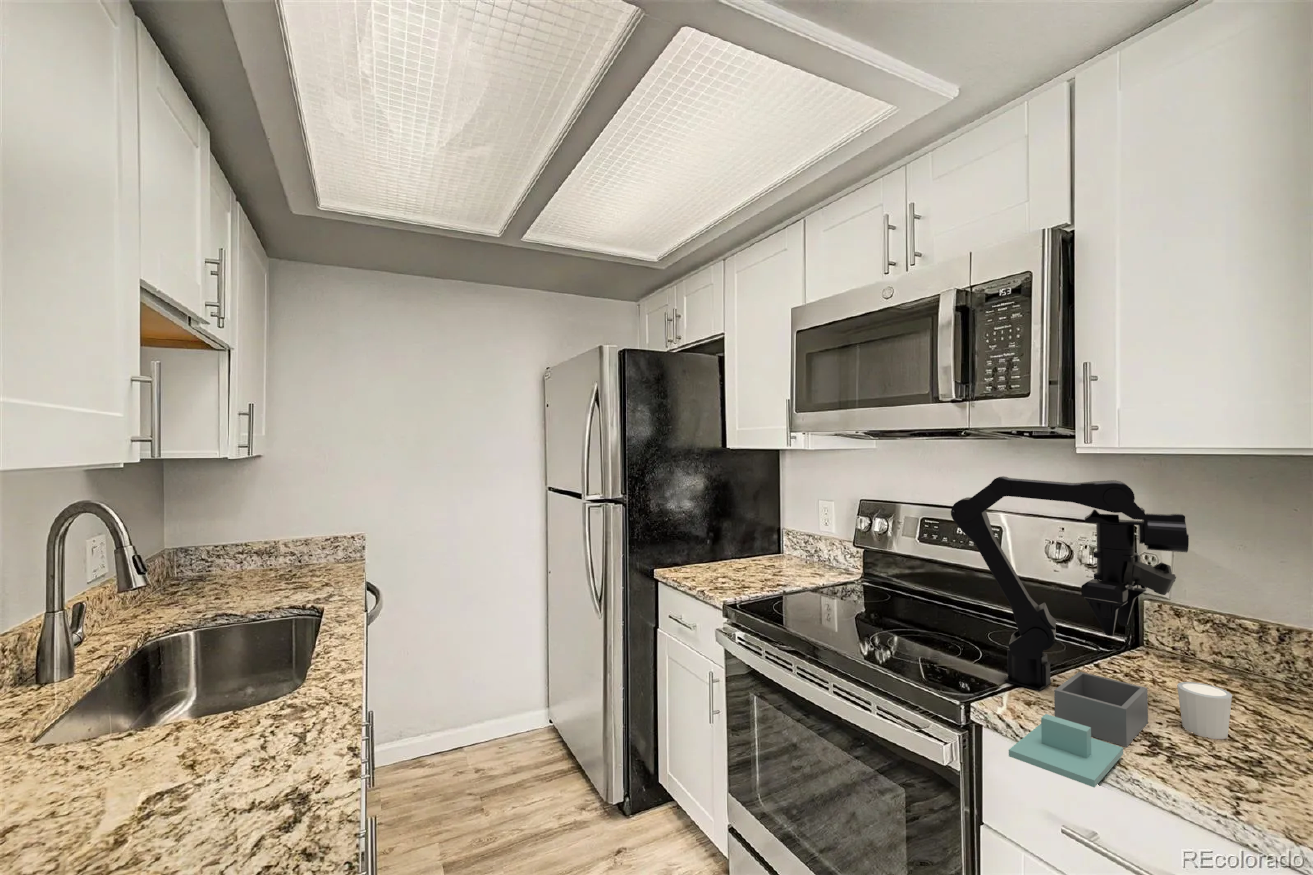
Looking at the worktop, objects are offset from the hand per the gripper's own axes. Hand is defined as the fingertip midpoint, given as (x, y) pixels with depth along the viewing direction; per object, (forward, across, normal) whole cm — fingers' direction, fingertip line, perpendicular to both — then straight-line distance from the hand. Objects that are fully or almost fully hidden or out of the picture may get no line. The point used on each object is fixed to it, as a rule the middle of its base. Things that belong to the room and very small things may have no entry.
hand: (1116, 630), depth 114 cm
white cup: (+13, -4, -13) cm, 19 cm away
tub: (+13, -14, -1) cm, 19 cm away
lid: (+13, -32, -1) cm, 35 cm away
